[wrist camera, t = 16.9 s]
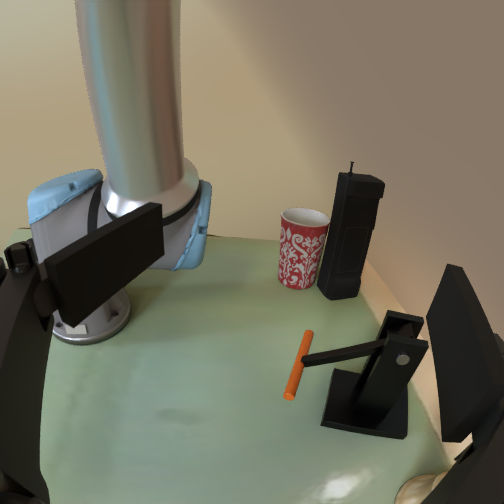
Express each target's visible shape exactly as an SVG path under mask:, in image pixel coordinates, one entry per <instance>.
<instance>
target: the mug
mask: <svg viewBox="0 0 504 504" xmlns="http://www.w3.org/2000/svg"><path fill="white" fill-rule="evenodd" d="M281 218H282V220H281V221H282V222H281V238H280V239H281V240H280V255H279V272H278V278H279V281H280V282H281V283H282V284H283V285H285V286H287V287H289V288H292V289H306V288H309V287H311V286H312V285H313V283H314V281H315V277H316V273H317V269H318V266H319V262H320V258H321V254H322V250H323V246H324V243H325V238H326V236H327V232H328V227H329V224H330V221H331V219H330V218H329V217H328V216H327V215H325V214H323V213H321V212H318V211H316V210H312V209H307V208H290V209H286V210H284V211H282V213H281Z"/></svg>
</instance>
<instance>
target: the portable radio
mask: <svg viewBox="0 0 504 504" xmlns="http://www.w3.org/2000/svg"><path fill="white" fill-rule="evenodd" d="M353 163H354V162H351V167H350V172H348V173H342V172H340V173H339V175H338V181H337V187H336V193H335V199H334V205H333V211H332V216H331V221H330V227H329V232H328V237H327V241H326V246H325V251H324V256H323V260H322V264H321V269H320V273H319V276H318V280H317V286H318V288H319V289H320V290H321V292H322V293H323V295H324V296H325V297H327V298H328V299H330V300H337V299H345V298H352V297H356V296H357V295H358V292H359V288H360V285H361V274H362V270H363V266H364V263H365V259H366V255H367V250H368V247H369V243H370V239H371V235H372V230H374V227H375V221H376V215H377V209H378V204H379V200H380V198H383V193H384V188H385V183H384V182H383V181H382V180H379V179H378V178H375V177H373V176H371V175H364V174H354V173H352V167H353Z"/></svg>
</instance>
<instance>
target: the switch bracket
mask: <svg viewBox="0 0 504 504" xmlns="http://www.w3.org/2000/svg"><path fill="white" fill-rule="evenodd" d="M409 323H411V324H412V328H413V332H414V337H415V338H410V337H405V336H400V335H395V334H390V333H389V334H388V336H387V329H390V328H394V327H398V326H401V325H405V324H409ZM423 324H424V319H423V317H419V316H413V315H409V314H405V313H400V312H395V311H391V310H387V313H386V316H385V318H384V321H383V323H382V326H381V328H380V331H379V333H378V336H377V338H376V340H380V339H384V338H386V341H385V343H384V345H383V347H382V349H381V352H380V353H377V354H372V355H369V357H368V359H367V361H366V363H365V365H364V368H363V370H362V372H361V374H359V373H354V372H349V371H345V370H340V369H336V368H334V370H333V373H332V377H331V382H330V386H329V391H328V395H327V400H326V404H325V409H324V413H323V417H322V421H321V426H325V427H329V428H334V429H339V430H344V431H349V432H355V433H361V434H367V435H373V436H380V437H387V438H394V439H404V438H405V437H406V436H407V433H408V391H407V384H408V382H409V381H410V379H411V377H412V376H413V374H414V372H415V371H416V369H417V367H418V366H419V364H420V362H421V360H422V359H423V357H424V355H425V353H426V351H427V350H428V348H429V346H428V341H425V340H420V339H417V337H418V335H419V333H420V330H421V329H422V326H423ZM376 340H375V341H376Z"/></svg>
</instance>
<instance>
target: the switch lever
mask: <svg viewBox="0 0 504 504" xmlns="http://www.w3.org/2000/svg"><path fill="white" fill-rule="evenodd" d="M389 333H390V334H395V335H400V336H405V337H410V338H415V337H414V332H413V328H412V324H411V323H409V324H405V325H401V326H398V327H394V328H390V329H387V336H388V334H389ZM313 335H314V333H313V331H311V330H306V331H305V333H304V336H303V339H302V342H301V345H300V348H299V351H298V354H297V357H296V360H295V363H294V366H293V369H292V372H291V375H290V378H289V380H288V383H287V386H286V389H285V392H284V394H283V397H284V398H285V399H286V400H293V399H294V397H295V394H296V391H297V388H298V385H299V382H300V378H301V375H302V372H303V369H304V367H310V366H316V365H322V364H328V363H333V362H339V361H344V360H349V359H354V358H359V357H363V356H368V355H372V354H377V353H380V352H381V349H382V347H383V345H384V343H385V341H386V338H384V339H380V340H376V341H372V342H368V343H363V344H359V345H354V346H350V347H345V348H341V349H336V350H331V351H326V352H320V353H315V354H310V355H308V352H309V349H310V345H311V342H312V338H313Z"/></svg>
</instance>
